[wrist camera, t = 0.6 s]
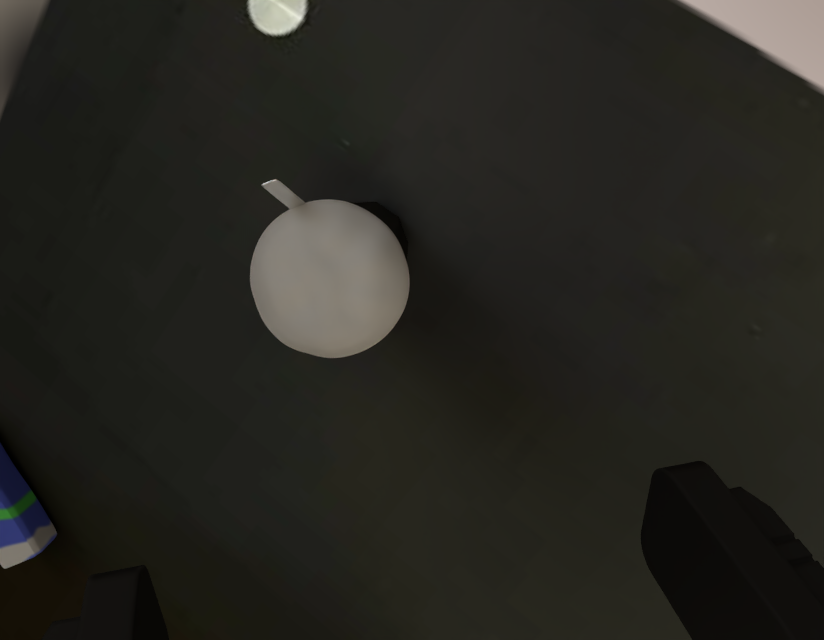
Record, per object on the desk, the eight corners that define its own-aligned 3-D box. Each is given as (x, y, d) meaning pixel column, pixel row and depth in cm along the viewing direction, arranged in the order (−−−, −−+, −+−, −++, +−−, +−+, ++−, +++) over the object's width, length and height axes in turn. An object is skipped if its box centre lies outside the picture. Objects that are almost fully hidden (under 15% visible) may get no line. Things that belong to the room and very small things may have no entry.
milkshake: (392, 145, 28) (353, 148, 18) (440, 277, 29) (428, 346, 19) (282, 187, 29) (188, 212, 19) (333, 314, 30) (269, 400, 20)
